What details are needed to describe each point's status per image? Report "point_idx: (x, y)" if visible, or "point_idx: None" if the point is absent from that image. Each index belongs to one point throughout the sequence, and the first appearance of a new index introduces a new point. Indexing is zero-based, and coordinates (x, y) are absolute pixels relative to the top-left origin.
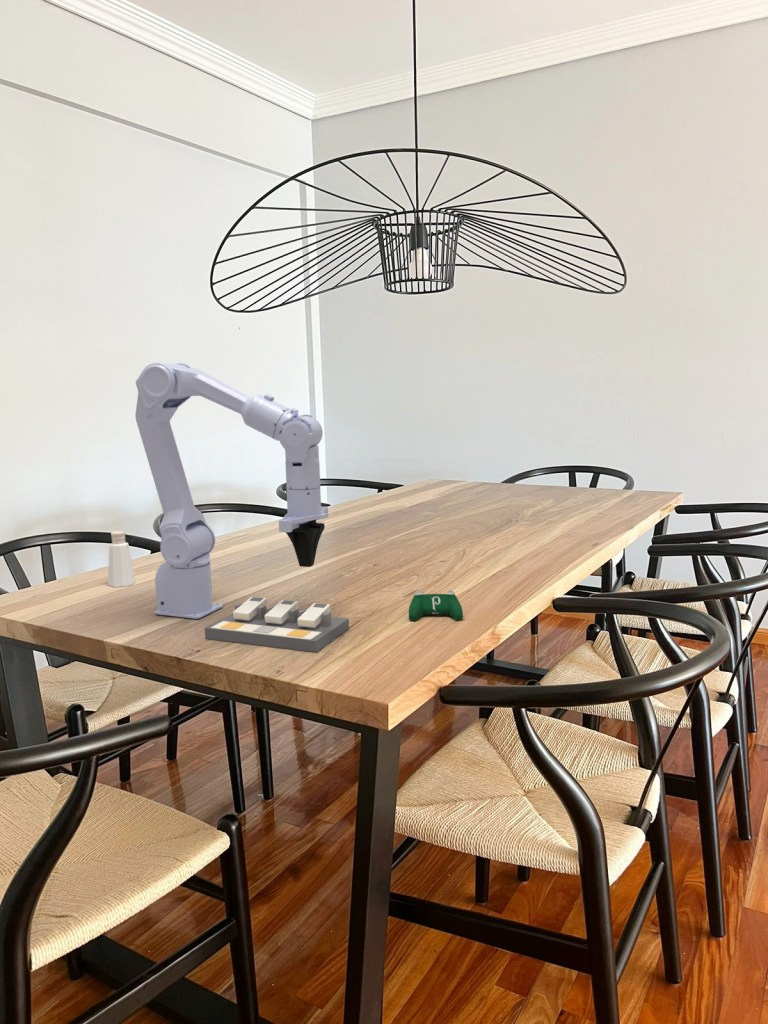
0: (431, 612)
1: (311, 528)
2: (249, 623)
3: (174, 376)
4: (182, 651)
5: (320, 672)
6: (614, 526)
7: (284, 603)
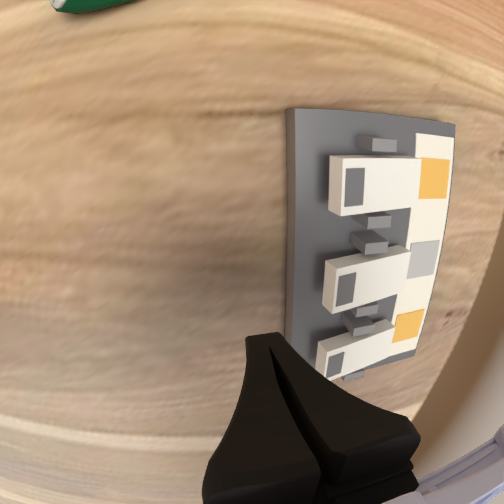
0: None
1: (368, 465)
2: (386, 313)
3: None
4: (450, 329)
5: (493, 86)
6: None
7: (353, 292)
